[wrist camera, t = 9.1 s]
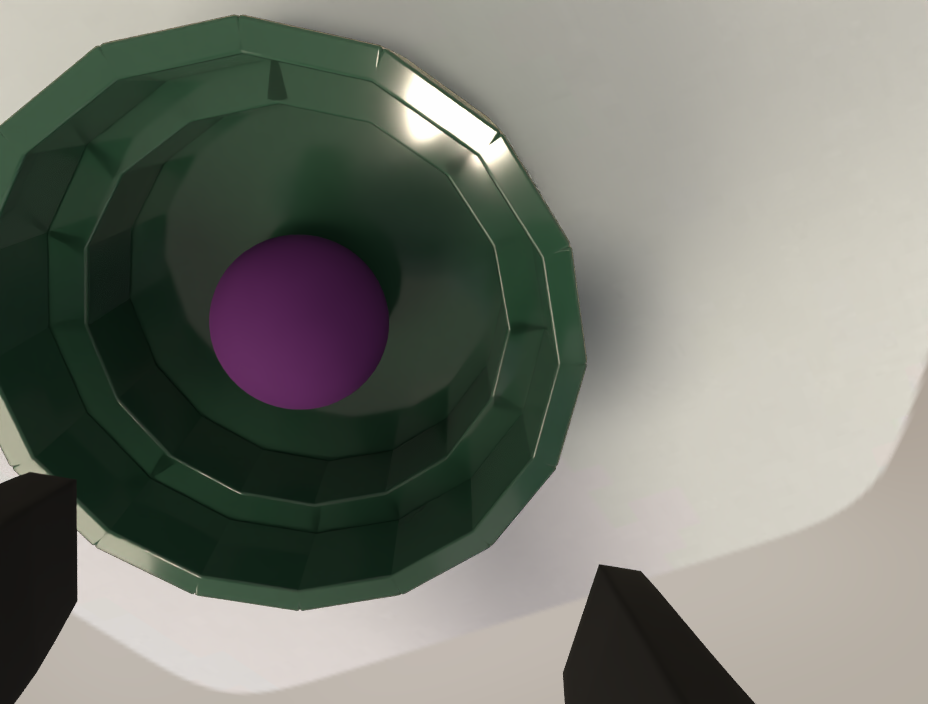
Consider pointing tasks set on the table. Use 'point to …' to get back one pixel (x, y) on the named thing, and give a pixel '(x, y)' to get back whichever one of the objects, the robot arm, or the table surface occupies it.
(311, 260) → the ball
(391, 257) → the bowl
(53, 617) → the robot arm
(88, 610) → the table surface
